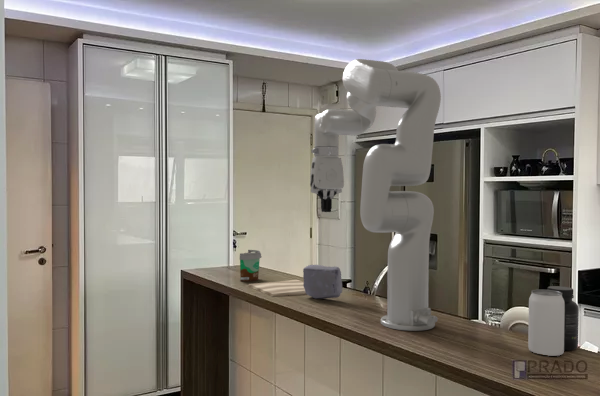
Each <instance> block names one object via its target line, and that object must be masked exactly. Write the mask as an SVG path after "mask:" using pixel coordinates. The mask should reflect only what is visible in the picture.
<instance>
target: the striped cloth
mask: <svg viewBox="0 0 600 396" xmlns="http://www.w3.org/2000/svg"><path fill="white" fill-rule="evenodd" d="M303 284H304V280H299V279H291V280H290V279H289V280H281V281H280V280H279V281H270V282H269V281H268V282H267V281H266V282H259V283H258V282H256V283H248V287H249V288H251V289H253V290H255V291H258V292H261V293H263V294H265V295H268V296H270V297H272V298H273V297H274V298H275V297H283V296H284V297H286V296H288V295H289V296H301V295H307V294H306V292H305V289H304V286H303Z"/></svg>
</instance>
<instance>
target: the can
mask: <svg viewBox="0 0 600 396" xmlns="http://www.w3.org/2000/svg"><path fill="white" fill-rule="evenodd" d="M564 313H565V303H564V299H563V297H562V293H561V292H558V291H553V290H548V289H532V290H531V294H530V296H529V298H528V328H527V329H528V333H527V334H528V335H527V337H528V338H527V339H528V340H527V341H528V343H527V347H528V350H529V351H530V353H532V352H533V353H532V354H534V353H537V354H543V355H548V356H547V357H549V356H557V357H560V355H561V356H562V355H563V354H564V353H565V352H564V351H565V350H564ZM537 354H536V355H537Z"/></svg>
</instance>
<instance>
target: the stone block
mask: <svg viewBox="0 0 600 396" xmlns="http://www.w3.org/2000/svg"><path fill="white" fill-rule="evenodd" d="M302 271H303V272H302V273H303V275H302V277H303V282H304V284H303V286H304V289H305V292H306V294H305V295H307V296H309V297H311V298H312V299H316V300H317V299H318V300H319V299H322V300H323V299H335V298H339V297H340V296H341V294H342V293H343V278H342V271H341V269H340V268H339V266H335V265H334V266H326V265H322V264H308V265H306V266H305V267H304V268H303V269H302Z"/></svg>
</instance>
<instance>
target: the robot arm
mask: <svg viewBox="0 0 600 396" xmlns="http://www.w3.org/2000/svg"><path fill="white" fill-rule="evenodd" d="M342 84H343V87H344V88H345V91H347V94H346V102H347V104H348V105H349V107H350V109H335V108H329V109H326V110H324V111H322V112H321V113H317V114H316V115H315V116H314V148H312V149H311V150H310V151H311V154H313V156H314V157H312V159H311V160H312V161H311V166H310V174H309V175H310V176H309V177H310V178H309V185H310V193H313V194H315V195H317V196H318V197H319V199H320V210H321V212H322V213H331V212H332V207H333V206H332V203H333V202H332V201H333V199H334V197H335V196H336V195H338V194H340V193H343V190H342V189H343V188H344V185H345V178H344V167H343V166H344V165H343V160H342V158H341V157H340V153H339V152H340V151H339V146H340V145H339V144H340V141H339V139H340V137H339V136H353V137H355V136H360V135H362V134H364V133H365V132H366V131H367V130H369V129H370V128H371V127H372V126H373V125H374V123H375V119H376V116H377V107H383V108H384V107H385V108H401V109H403V108H404V109H406V111H405V112H404V113H403V114H402V116H401V117H400V119H399V120H398V123H397V127H396V132H395V133H396V138H395V142H394V143H393V144H392V143H390V144H389V143H380V144H376V145H373V146H372V147H371V148H370V149H369V150H368V152H367V153H366V155H365V158H364V161H363V166H362V167H363V168H362V176H361V177H362V178H361V179H362V180H361V195H360V206H359V210H360V211H359V212H360V213H359V215H360V220H361V221H360V222H361V223H362V225H363V227H364V229H365V230H367V231H368V232H371V233H394V236H393V237H392V239H391V240H390V243H389V244H388V245H389V246H388V250H387V297H386V298H387V305H386V306H387V308H386V310H387V314H385V315H383V316H382V317H381V318H380V324H381V325H382V326H383V327H386V328H389V329H392V330H399V331H405V332H407V331H409V332H420V331H421V332H422V331H427V330H428V331H429V330H432V329H433V328H435V327H436V322H437V321H438V316H436V315H432V309H431V307H429V273H430V271H429V266H430V265H429V263H430V262H429V261H430V238H431V230H432V226H433V221H434V217H435V216H434V214H435V213H434V212H435V209H434V208H435V207H434V204H433V202H432V201H433V200H431V199H430V198H429V197H428V195H426V194H424V193H422V192H419V191H413V190H412V191H410V190H399V191H398V190H395V191H392V190H390V189H391V187H402V186H403V187H412V186H415V187H416V186H420V185H423V184H425V183H426V182H427V181H428V180H429V177H430V173H431V169H432V157H433V147H434V138H435V137H434V134H435V125H436V122H437V117H438V114H439V111H440V105H441V100H442V99H441V97H442V96H441V95H442V94H441V89H440V86H439V84H438V82H437V81H436V80H435V79H434V78H433V77H431V76H429V75H427V74H424V73H419V72H413V71H405V70H398V68H397V67H396V66H395V65H394V64H392V63H390V62H387V61H381V60H374V59H366V58H365V59H364V58H356V59H353V60H351V61H350V62H349V63H348V64H347V65H346V66H345V68H344V71H343V73H342Z"/></svg>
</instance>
